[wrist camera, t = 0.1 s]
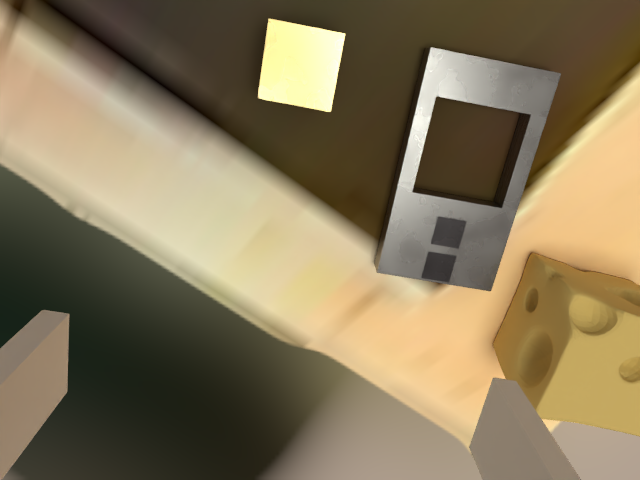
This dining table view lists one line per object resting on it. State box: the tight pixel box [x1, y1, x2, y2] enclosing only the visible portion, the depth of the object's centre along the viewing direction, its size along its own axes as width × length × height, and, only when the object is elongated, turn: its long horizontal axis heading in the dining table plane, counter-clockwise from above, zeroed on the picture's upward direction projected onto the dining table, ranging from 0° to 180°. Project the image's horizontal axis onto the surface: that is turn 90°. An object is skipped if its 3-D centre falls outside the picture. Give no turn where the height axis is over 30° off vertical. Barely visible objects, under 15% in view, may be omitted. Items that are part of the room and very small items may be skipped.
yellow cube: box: [258, 19, 345, 112], centre depth 36 cm, size 5×5×6 cm
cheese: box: [493, 253, 640, 436], centre depth 42 cm, size 10×11×10 cm
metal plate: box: [374, 47, 561, 291], centre depth 41 cm, size 18×10×2 cm, turn 170°
